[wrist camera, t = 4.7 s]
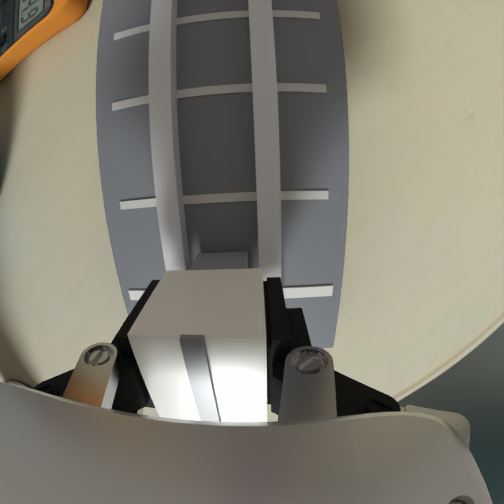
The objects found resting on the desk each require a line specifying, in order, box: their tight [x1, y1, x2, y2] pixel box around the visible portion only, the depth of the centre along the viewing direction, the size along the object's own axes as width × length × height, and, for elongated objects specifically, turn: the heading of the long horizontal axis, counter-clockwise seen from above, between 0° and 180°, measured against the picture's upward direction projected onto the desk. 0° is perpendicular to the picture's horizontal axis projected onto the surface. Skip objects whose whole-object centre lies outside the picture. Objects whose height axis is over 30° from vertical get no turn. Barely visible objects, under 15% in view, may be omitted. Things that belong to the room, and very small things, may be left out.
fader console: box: [96, 0, 349, 348], centre depth 12 cm, size 28×12×4 cm, turn 2°
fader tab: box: [127, 252, 267, 422], centre depth 11 cm, size 4×4×7 cm
